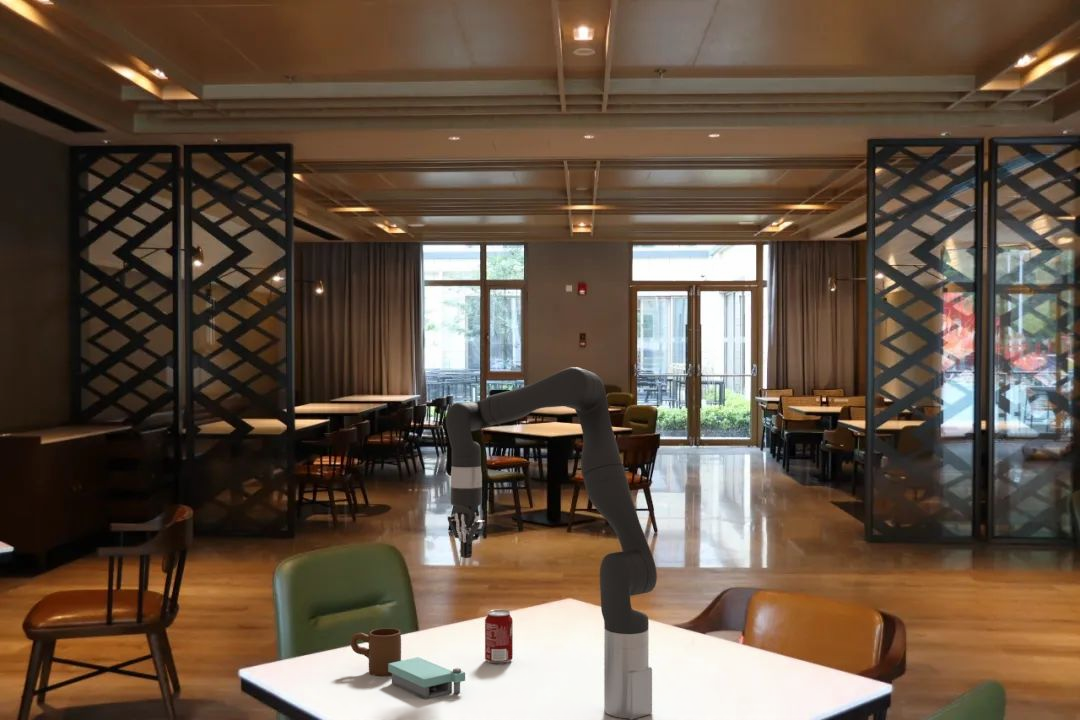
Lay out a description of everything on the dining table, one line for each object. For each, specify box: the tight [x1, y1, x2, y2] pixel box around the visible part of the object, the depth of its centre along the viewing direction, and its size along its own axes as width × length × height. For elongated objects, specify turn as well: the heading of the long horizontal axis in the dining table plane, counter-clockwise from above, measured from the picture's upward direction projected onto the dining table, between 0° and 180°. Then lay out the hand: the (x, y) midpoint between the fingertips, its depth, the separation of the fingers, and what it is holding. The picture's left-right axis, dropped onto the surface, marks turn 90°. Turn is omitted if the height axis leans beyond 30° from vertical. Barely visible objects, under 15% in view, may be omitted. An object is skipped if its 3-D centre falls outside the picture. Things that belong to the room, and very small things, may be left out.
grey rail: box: [391, 673, 461, 700], centre depth 217 cm, size 16×8×2 cm, turn 39°
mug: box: [349, 627, 402, 677], centre depth 229 cm, size 12×8×9 cm, turn 89°
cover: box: [388, 656, 466, 688], centre depth 217 cm, size 17×10×2 cm, turn 40°
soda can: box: [484, 609, 514, 665], centre depth 237 cm, size 7×7×12 cm
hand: (466, 557), depth 232 cm, fingers closed
